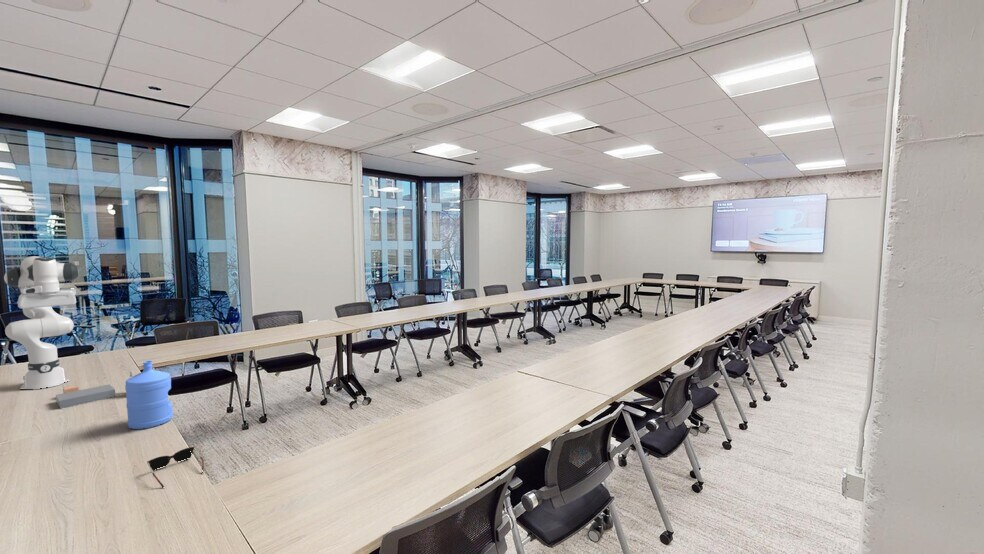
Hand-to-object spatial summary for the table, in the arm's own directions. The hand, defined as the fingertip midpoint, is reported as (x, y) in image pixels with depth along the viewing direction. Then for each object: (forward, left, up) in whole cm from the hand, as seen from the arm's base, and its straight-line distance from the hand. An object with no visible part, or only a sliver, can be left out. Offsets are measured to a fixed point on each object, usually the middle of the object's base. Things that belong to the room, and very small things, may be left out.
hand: (49, 315), depth 206 cm
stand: (+17, +9, -44) cm, 48 cm away
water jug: (+78, +22, -44) cm, 93 cm away
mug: (+27, +27, -44) cm, 58 cm away
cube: (+5, +5, -44) cm, 45 cm away
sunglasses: (+138, +16, -45) cm, 146 cm away
